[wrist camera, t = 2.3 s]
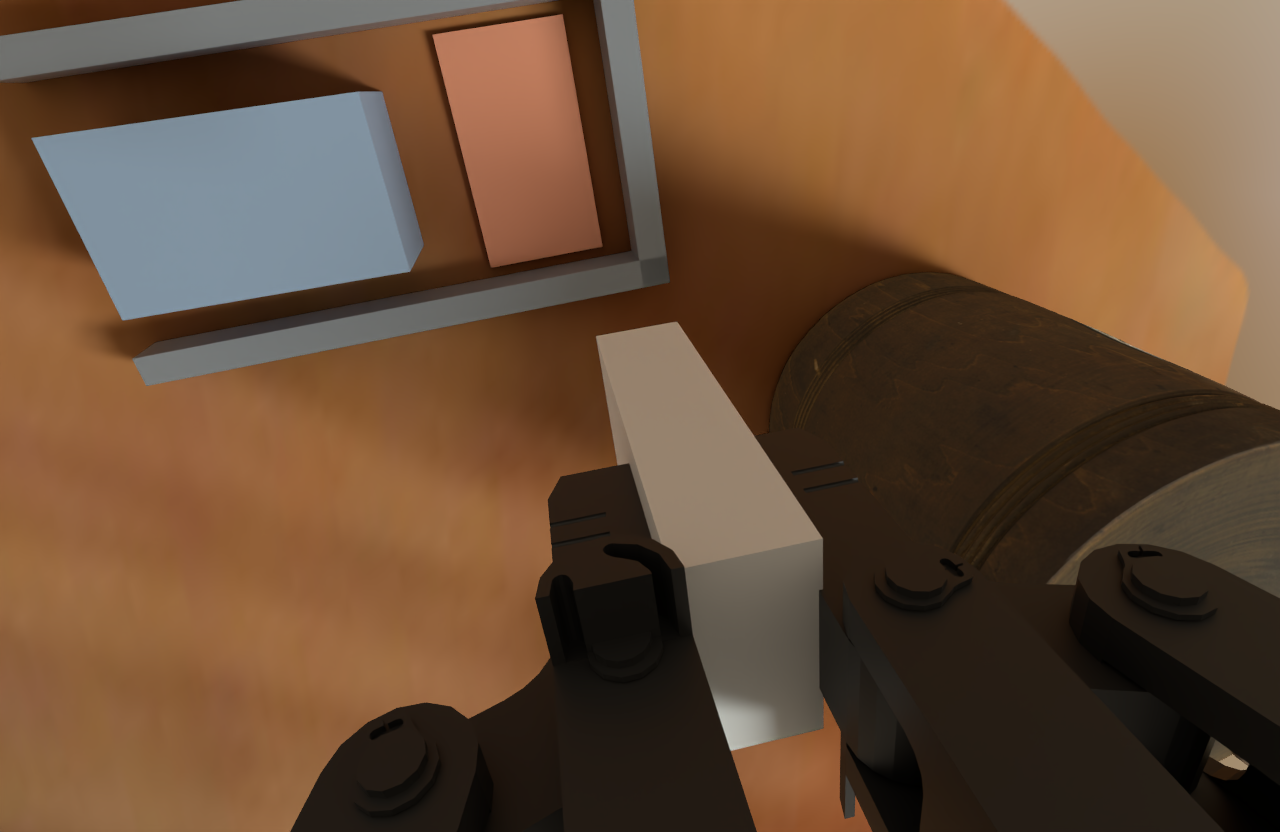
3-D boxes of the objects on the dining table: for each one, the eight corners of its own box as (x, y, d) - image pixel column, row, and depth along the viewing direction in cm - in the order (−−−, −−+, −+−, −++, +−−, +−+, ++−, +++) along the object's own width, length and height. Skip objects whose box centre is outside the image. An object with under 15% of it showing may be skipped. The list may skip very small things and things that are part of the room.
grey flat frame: (168, 368, 29) (146, 386, 27) (4, 45, 24) (-37, 41, 22) (660, 271, 31) (670, 282, 30) (617, -47, 26) (626, -57, 24)
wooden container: (1013, 480, 41) (1477, 835, 21) (781, 545, 40) (1047, 982, 20) (1030, 238, 34) (1734, 436, 15) (751, 310, 33) (1107, 626, 14)
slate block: (182, 284, 28) (122, 320, 24) (113, 129, 25) (31, 138, 21) (424, 243, 29) (410, 271, 25) (382, 91, 26) (357, 91, 22)
